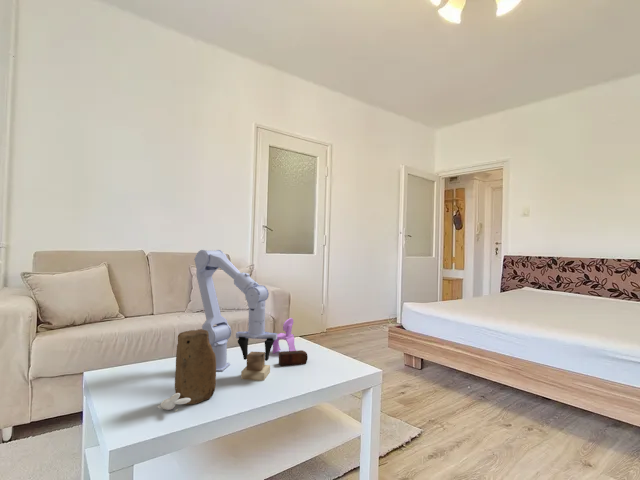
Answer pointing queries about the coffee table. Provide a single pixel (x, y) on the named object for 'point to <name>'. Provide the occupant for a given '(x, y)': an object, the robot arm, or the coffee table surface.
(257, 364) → the walnut cube
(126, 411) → the coffee table surface
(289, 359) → the brick
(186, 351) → the brown rounded upright slab
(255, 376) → the oak base
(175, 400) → the rabbit figurine
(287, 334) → the toy chair
